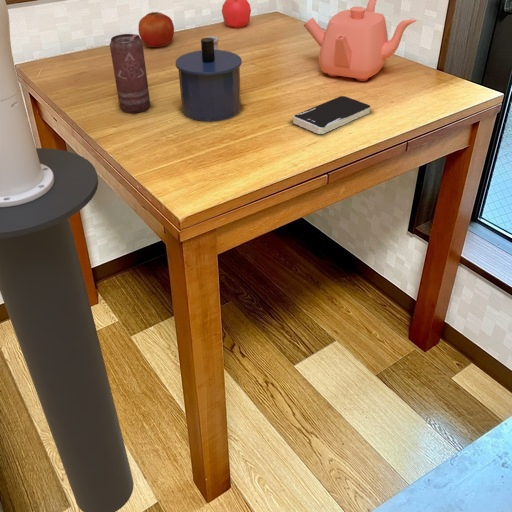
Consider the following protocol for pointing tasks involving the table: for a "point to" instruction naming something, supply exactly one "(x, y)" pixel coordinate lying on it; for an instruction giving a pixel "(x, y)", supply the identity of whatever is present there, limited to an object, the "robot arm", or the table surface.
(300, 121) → the smartphone
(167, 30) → the tomato
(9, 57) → the robot arm
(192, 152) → the table surface
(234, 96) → the pot
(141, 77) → the can
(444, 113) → the table surface
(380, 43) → the teapot
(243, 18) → the apple
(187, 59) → the pot lid
